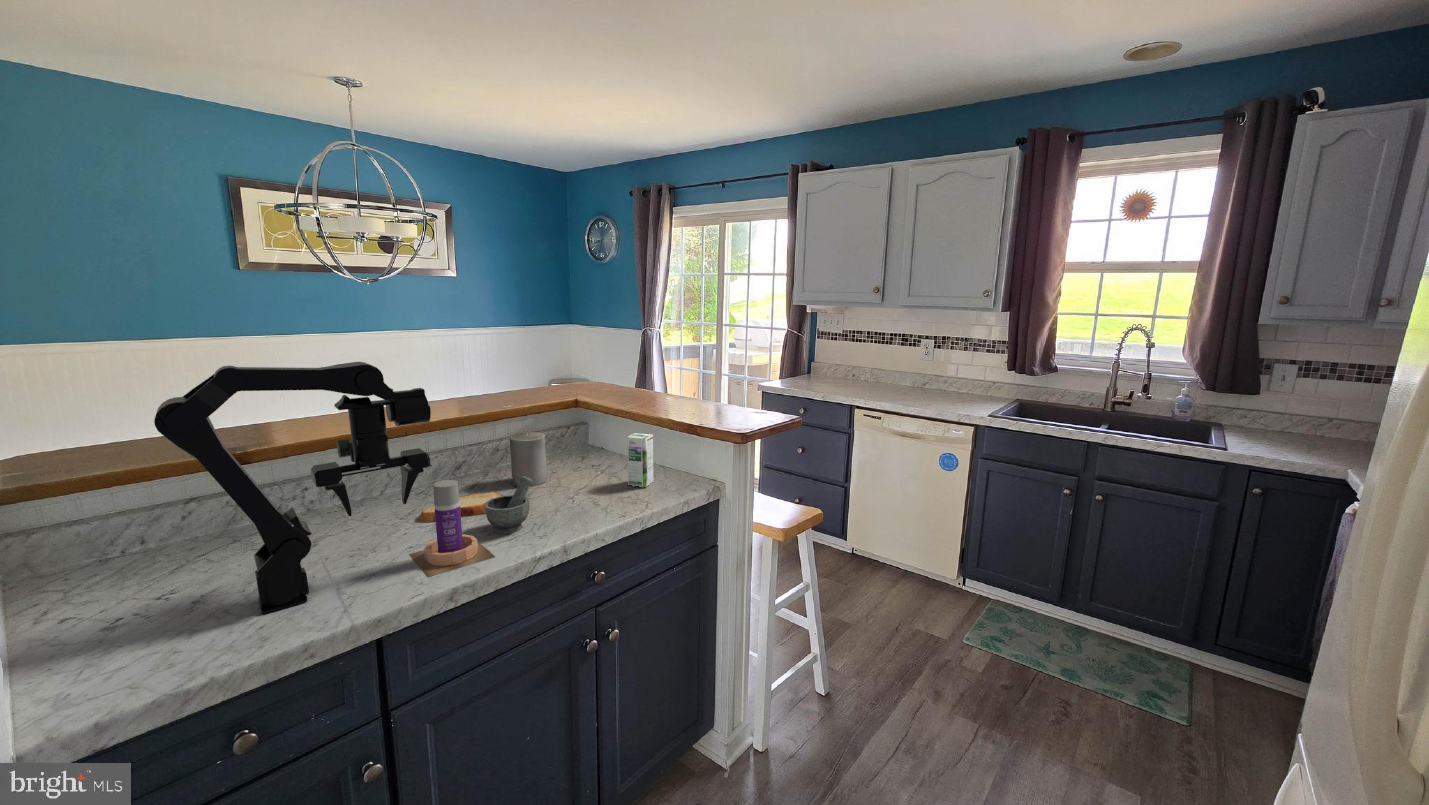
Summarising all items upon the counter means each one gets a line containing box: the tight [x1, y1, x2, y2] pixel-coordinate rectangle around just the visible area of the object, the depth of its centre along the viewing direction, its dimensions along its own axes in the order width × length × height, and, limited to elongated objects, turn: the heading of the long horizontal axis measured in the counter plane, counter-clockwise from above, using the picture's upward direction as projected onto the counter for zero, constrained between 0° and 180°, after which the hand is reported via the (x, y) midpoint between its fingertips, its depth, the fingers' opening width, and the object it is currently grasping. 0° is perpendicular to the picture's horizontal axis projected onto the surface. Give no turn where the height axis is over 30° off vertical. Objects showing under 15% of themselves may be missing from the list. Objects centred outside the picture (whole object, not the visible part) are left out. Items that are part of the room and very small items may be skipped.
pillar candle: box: [509, 431, 548, 488], centre depth 165 cm, size 10×10×15 cm
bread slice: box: [418, 491, 505, 523], centre depth 143 cm, size 18×18×4 cm
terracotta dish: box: [423, 533, 479, 566], centre depth 118 cm, size 10×10×2 cm
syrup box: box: [626, 432, 654, 489], centre depth 163 cm, size 6×6×14 cm
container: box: [433, 479, 463, 553], centre depth 116 cm, size 5×5×15 cm
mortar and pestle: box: [484, 476, 533, 535], centre depth 131 cm, size 11×9×12 cm
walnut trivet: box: [408, 540, 496, 578], centre depth 118 cm, size 13×13×1 cm
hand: (377, 509), depth 109 cm, fingers open, 9 cm apart
